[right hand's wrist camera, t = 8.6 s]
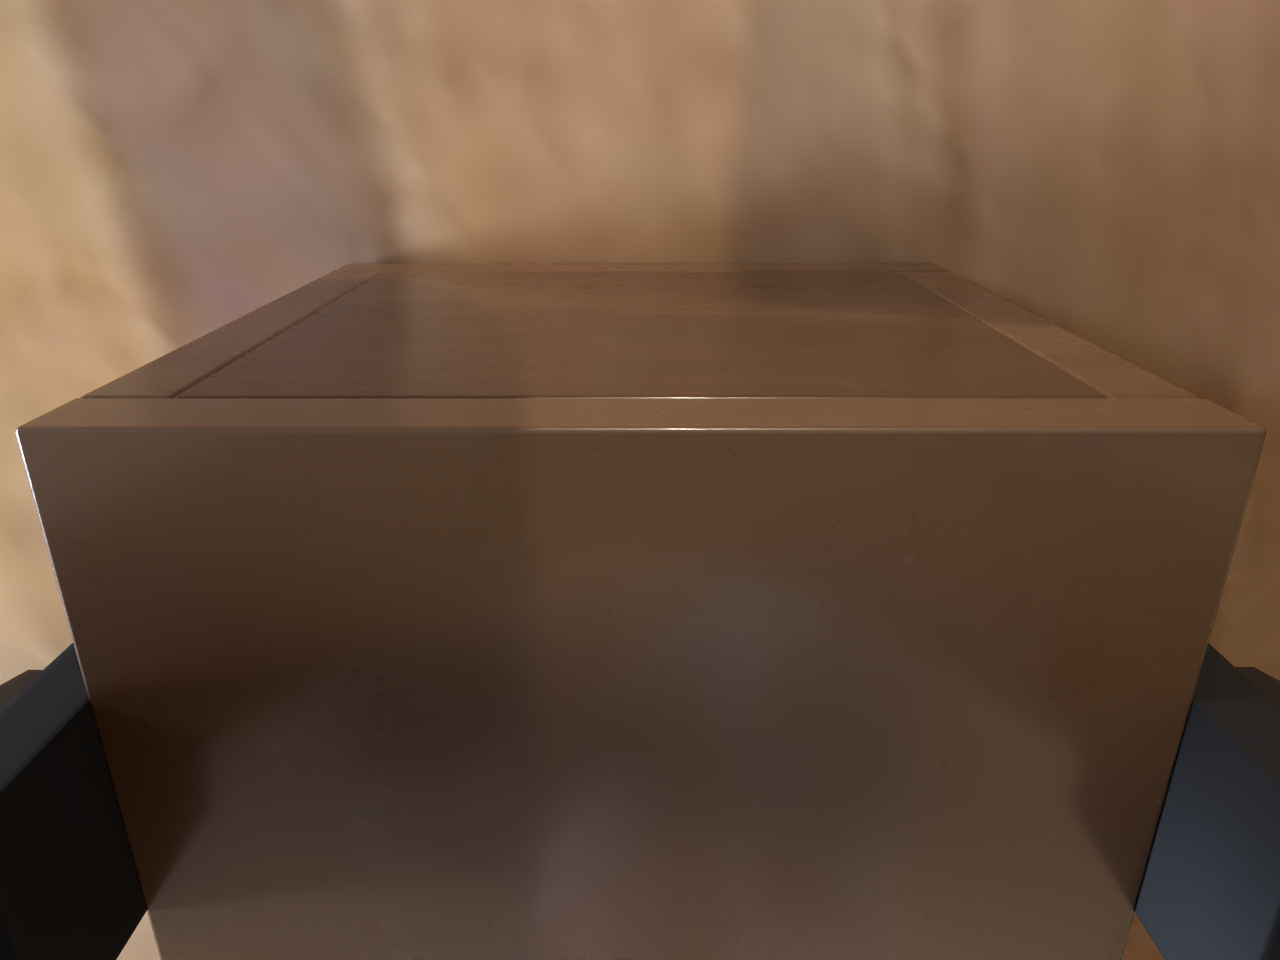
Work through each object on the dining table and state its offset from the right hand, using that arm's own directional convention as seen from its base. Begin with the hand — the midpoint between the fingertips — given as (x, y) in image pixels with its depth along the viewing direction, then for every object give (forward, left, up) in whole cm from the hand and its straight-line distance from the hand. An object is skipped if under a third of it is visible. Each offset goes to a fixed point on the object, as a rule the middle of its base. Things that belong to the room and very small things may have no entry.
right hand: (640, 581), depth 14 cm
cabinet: (+1, -7, -4) cm, 8 cm away
